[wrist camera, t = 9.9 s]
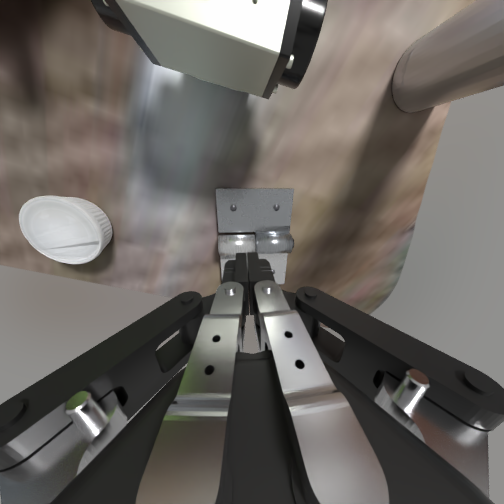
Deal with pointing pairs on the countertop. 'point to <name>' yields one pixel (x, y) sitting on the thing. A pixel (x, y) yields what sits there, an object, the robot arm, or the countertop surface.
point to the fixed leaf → (258, 216)
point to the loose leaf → (246, 243)
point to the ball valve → (224, 38)
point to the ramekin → (65, 228)
